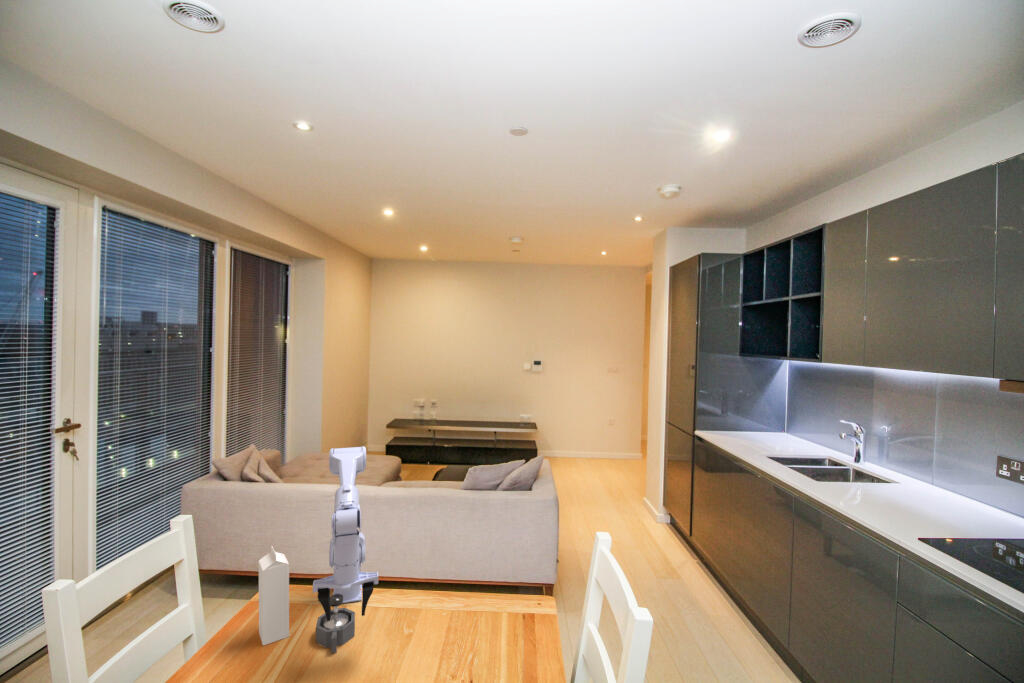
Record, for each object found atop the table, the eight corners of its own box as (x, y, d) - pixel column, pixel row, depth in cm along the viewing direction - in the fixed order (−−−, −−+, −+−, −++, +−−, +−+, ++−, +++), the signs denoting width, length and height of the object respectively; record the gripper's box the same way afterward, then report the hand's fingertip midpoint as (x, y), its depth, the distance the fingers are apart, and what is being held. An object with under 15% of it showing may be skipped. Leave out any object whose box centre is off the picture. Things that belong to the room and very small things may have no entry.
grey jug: (318, 626, 122) (318, 611, 122) (355, 620, 125) (355, 606, 124) (313, 657, 111) (313, 640, 111) (353, 650, 114) (353, 634, 113)
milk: (262, 646, 114) (261, 558, 113) (258, 632, 119) (257, 548, 118) (289, 636, 118) (289, 551, 117) (284, 623, 123) (284, 541, 122)
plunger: (324, 617, 121) (324, 593, 121) (348, 613, 123) (349, 589, 122) (322, 632, 115) (322, 606, 115) (347, 628, 117) (347, 603, 117)
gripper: (311, 573, 104) (311, 631, 105) (378, 564, 108) (378, 621, 109) (314, 557, 111) (314, 612, 112) (378, 550, 115) (377, 603, 116)
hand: (346, 615), depth 111 cm, fingers open, 7 cm apart
